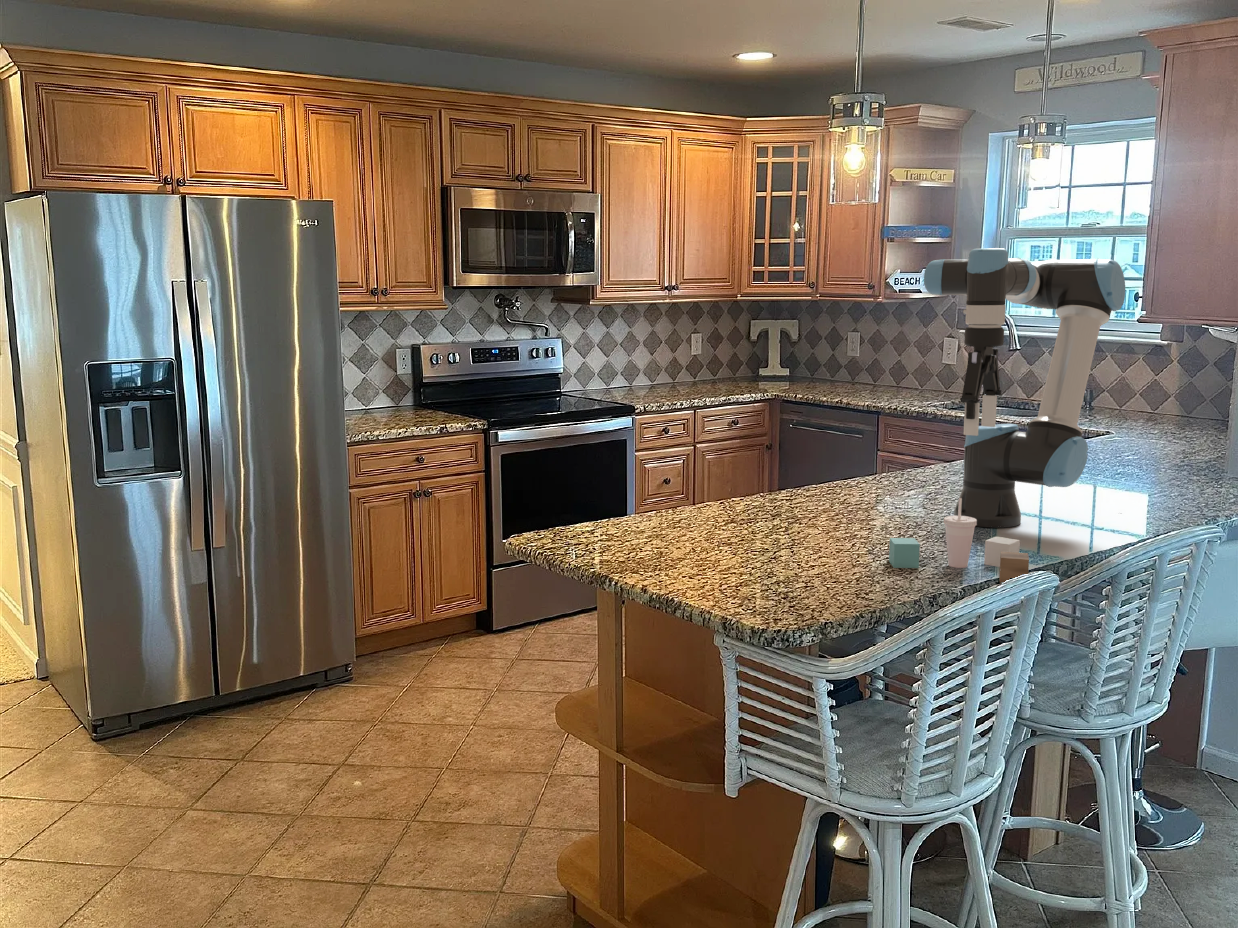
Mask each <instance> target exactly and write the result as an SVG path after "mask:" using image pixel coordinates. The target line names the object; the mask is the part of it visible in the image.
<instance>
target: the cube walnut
mask: <svg viewBox="0 0 1238 928" xmlns="http://www.w3.org/2000/svg"><path fill="white" fill-rule="evenodd" d="M1029 567H1030V556H1029V552H1028V553H1026V552H1019V553H1017V552H1003V551H1001V554H1000V567H999V573H998V574H999V576H998V578H999V583H1000V584H1001V582H1005V581H1006V580H1009V579H1010V578H1015V577H1018V576H1020V575H1022V574H1028V575H1029V572H1030V571H1029V569H1030V568H1029Z"/></svg>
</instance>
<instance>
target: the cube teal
mask: <svg viewBox="0 0 1238 928" xmlns="http://www.w3.org/2000/svg"><path fill="white" fill-rule="evenodd" d="M888 546H889V548H888V549H889V552H888V562H889V563H890V565H891V566H892V568H894V569H919V568H920V549H921V547H920V546H921V543H919V541H918V540H917V539H916V538H915V537H890V538H889V545H888Z"/></svg>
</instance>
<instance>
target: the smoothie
mask: <svg viewBox="0 0 1238 928" xmlns="http://www.w3.org/2000/svg"><path fill="white" fill-rule="evenodd" d="M958 499H959V506H958V516H954V515H948V516H945V517H943V524H944V525H945V538H946V550H947V564H948V566H949V567H950V568H957V569H965V568H968V565H969V560H970V555H971V550H972V545H973V544H972V543H973V538H974V533H975V527H977V526H976V525H977V520H976V519H975V518H972V517H968V516H961V504H962V498H958Z"/></svg>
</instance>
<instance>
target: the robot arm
mask: <svg viewBox="0 0 1238 928" xmlns="http://www.w3.org/2000/svg"><path fill="white" fill-rule="evenodd" d="M1008 254H1009V253H1008V250H1007V249H1006V248H1003V247H1002V248H999V247H995V248H994V247H993V248H991V247H990V248H989V247H988V248H973V249H971V250H970V251H969V252H968V258H967V259H966V258H965V259H962V258H961V259H946V258H943V259H936V260H935V259H934V260H932V261H930V262H929V263H928V264H927V265H926V267H925V269H924V272H923V273H924V274H923V284H924V287H925V290H926V291H927V292H928V293H929V294H931V295H936V296H937V295H939V296H966V300H965V302H966V303H965V304H966V306H965V309H963V311H962V313H963V315H965V324H966V325H968V326H967V327H965V328H964V342H963V343H964V345H965V346H966V347H973V351H972V352H970V351H968V354H967V366H966V370H965V377H964V383H963V387H962V388H963V389H962V393H961V397H960V399H959V400H960V403H964V410H963V411H964V412H963V414H964V417H963V435H964V436H965V440H964V445H963V447H964V454H963V455H964V457H963V482H962V489H961V492H960V494H959V498H962V504H961V516H968V517H972V518H975V519H976V520H977V525H976V526H975V527H978V528H979V527H980V528H1011V527H1016V526H1019V525H1020V524H1021V523H1022V521H1021V520H1022V513H1021V509H1020V506H1019V501H1018V499H1017V495H1016V490H1015V489H1016V482H1017V483H1025V484H1032V485H1040V486H1046V487H1049V488H1053V487H1054V488H1055V487H1058V488H1068V487H1071V486H1072V485H1074V484H1075V483H1076V482H1077V481H1078V480H1079V479H1080V477H1081V476H1082V474H1083V472H1084V470H1085V467H1086V465H1087V461H1088V451H1089V445H1088V442H1087V441H1086V439H1085V438H1083V431H1082V429H1081V428H1080V427H1079V425H1078V423H1079V419H1080V418H1079V417H1080V414H1081V409H1082V407H1083V406H1082V404H1083V402H1084V396H1085V393H1086V387H1087V384H1088V380H1089V375H1090V371H1091V368H1092V363H1093V360H1094V355H1095V350H1096V345H1097V343H1098V338H1099V334H1100V329H1101V326H1104V324H1107V323H1108V322H1109V320H1110V318H1111V313H1112V312H1116V311H1119V310H1121V309H1122V308H1123V307H1122V306H1124V303H1125V298H1126V280H1125V275H1124V272H1123V269H1122V267H1121V265H1120V264H1119V262H1118V261H1116V260H1114V259H1108V258H1105V259H1103V258H1098V257H1097V258H1090V259H1089V258H1085V259H1084V258H1083V259H1081V258H1080V259H1077V258H1076V259H1048V260H1039V261H1029V260H1027V259H1025V258H1021V257H1009V255H1008ZM1006 301H1008V302H1010V303H1011V304H1016V305H1017V304H1018V305H1025V306H1029V307H1033V308H1038V309H1045V310H1046V309H1047V310H1055V314H1056V315H1057V317H1058V318H1059V319H1060V323H1059V327H1058V329H1057V330H1058V331H1057V334H1056V335H1057V336H1056V339H1055V342H1054V343H1055V344H1054V347H1053V352H1052V355H1051V359H1050V365H1049V369H1048V372H1047V377H1046V380H1045V385H1044V388H1043V389H1044V390H1043V392H1042V396H1041V401H1040V406H1039V409H1038V414H1037V416H1036V417H1035V418H1033V419H1032V420H1030V421H1028V425H1027V427H1026V431H1019V430H1020V428H1019V426H1018V424H1016V423H998V424H996V423H997V421H996V420H997V403H998V402H997V400H998V396H1001V395H1002V390H1001V385H1000V384H1001V383H1000V371H999V357H998V356H999V353H998V352H999V349H998V348H997V347H1002V346H1003V345H1004V341H1005V328H1004V327H1003V326H1004V325H1005V323H1006ZM1002 325H1003V326H1002ZM982 387H983V393H984V394H982V403H981V402H979V399H980V395H981V390H982ZM980 403H981V404H980ZM980 405H981V407H980ZM980 408H981V421H980ZM980 423H981V425H979V424H980ZM959 498H958V500H957V503H956V505H955V507H954V509H953V516H958V506H959Z"/></svg>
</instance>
